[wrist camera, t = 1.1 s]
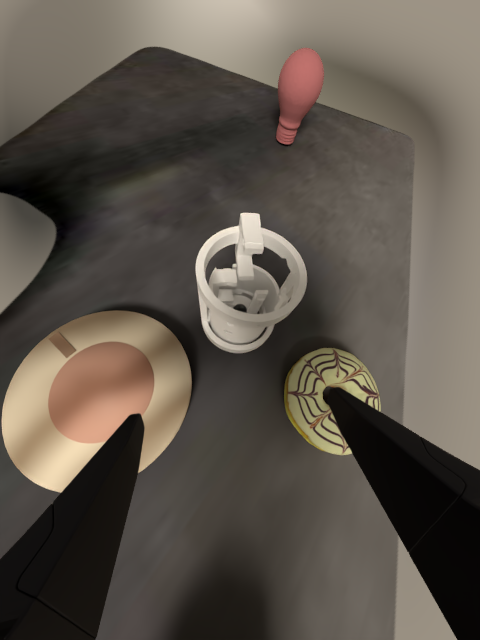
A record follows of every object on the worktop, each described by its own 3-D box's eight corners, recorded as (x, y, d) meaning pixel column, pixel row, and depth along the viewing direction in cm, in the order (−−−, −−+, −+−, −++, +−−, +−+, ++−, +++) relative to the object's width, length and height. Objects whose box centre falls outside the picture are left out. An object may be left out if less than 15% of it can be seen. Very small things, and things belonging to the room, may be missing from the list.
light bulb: (284, 159, 40) (312, 66, 29) (258, 138, 41) (276, 41, 30) (307, 147, 42) (342, 57, 31) (282, 128, 44) (307, 35, 32)
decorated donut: (381, 400, 26) (408, 400, 22) (328, 472, 22) (350, 485, 18) (319, 336, 27) (335, 327, 24) (261, 393, 24) (270, 392, 20)
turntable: (223, 381, 22) (224, 380, 21) (87, 538, 16) (79, 547, 15) (123, 288, 24) (119, 283, 23) (-27, 397, 19) (-40, 397, 18)
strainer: (256, 307, 28) (302, 213, 14) (263, 360, 25) (328, 311, 11) (202, 309, 27) (193, 209, 13) (204, 365, 24) (195, 316, 10)
